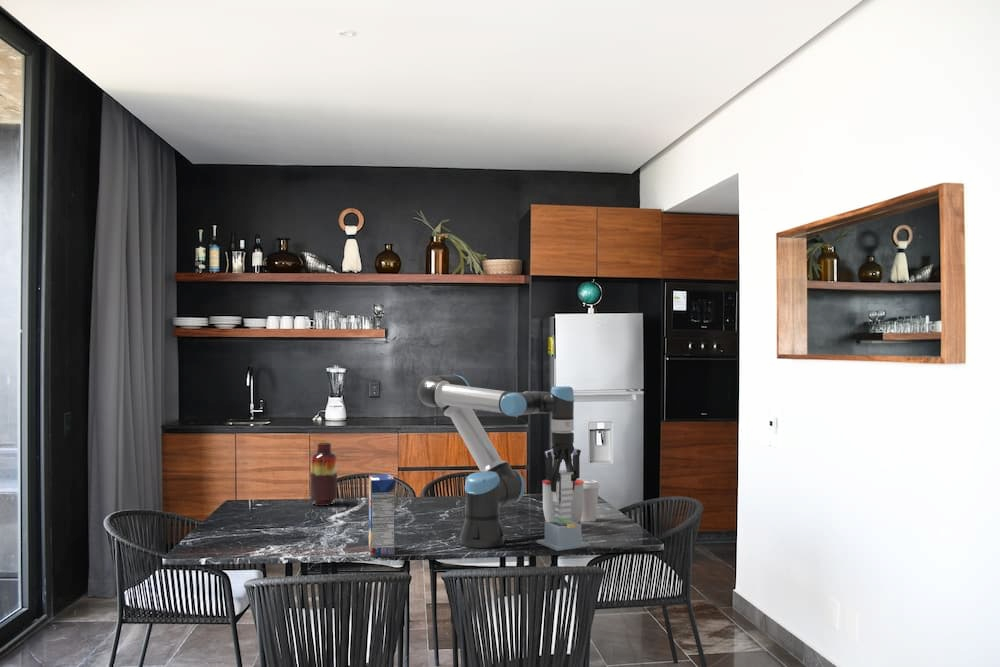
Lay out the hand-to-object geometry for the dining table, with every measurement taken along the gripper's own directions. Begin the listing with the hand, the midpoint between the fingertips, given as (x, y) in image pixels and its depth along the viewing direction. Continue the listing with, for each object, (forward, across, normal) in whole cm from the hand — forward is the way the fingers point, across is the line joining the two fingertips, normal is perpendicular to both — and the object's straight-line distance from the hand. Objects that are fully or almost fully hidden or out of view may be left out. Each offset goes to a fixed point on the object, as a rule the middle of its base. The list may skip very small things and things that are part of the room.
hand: (562, 500), depth 261 cm
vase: (+15, -51, +109) cm, 121 cm away
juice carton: (+15, -57, +21) cm, 63 cm away
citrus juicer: (+15, +15, +23) cm, 31 cm away
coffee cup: (+15, +30, +28) cm, 44 cm away
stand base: (+15, 0, 0) cm, 15 cm away
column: (+8, 0, 0) cm, 8 cm away
